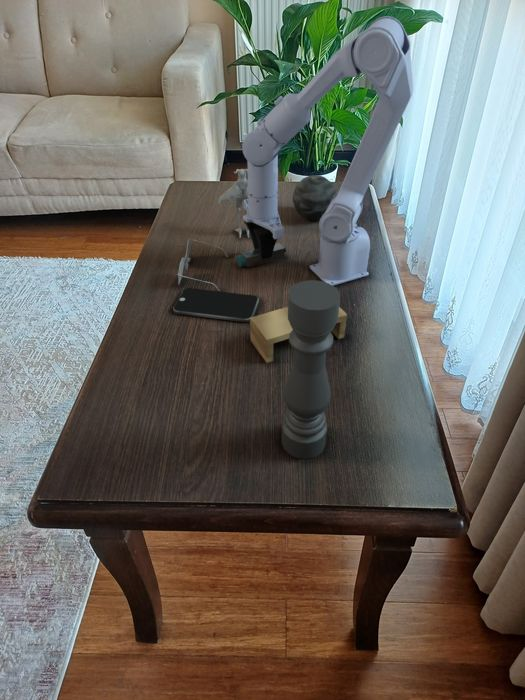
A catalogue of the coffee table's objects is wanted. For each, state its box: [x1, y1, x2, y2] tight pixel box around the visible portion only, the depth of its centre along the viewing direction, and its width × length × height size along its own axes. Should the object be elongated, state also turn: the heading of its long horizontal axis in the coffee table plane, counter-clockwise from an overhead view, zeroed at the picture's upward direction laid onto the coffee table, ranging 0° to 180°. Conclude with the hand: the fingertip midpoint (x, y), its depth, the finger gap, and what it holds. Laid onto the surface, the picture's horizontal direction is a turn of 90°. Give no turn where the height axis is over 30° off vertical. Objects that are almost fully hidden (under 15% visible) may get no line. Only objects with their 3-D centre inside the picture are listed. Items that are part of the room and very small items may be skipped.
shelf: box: [249, 306, 348, 364], centre depth 89 cm, size 15×6×5 cm, turn 116°
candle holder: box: [281, 279, 341, 460], centre depth 65 cm, size 6×6×25 cm
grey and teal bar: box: [236, 242, 287, 269], centre depth 109 cm, size 11×2×2 cm, turn 116°
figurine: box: [217, 168, 250, 239], centre depth 113 cm, size 11×4×15 cm, turn 93°
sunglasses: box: [177, 237, 229, 292], centre depth 105 cm, size 14×8×5 cm, turn 176°
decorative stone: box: [292, 174, 337, 221], centre depth 121 cm, size 10×10×10 cm
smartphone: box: [172, 287, 260, 323], centre depth 97 cm, size 8×1×15 cm
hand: (263, 254), depth 109 cm, fingers closed on grey and teal bar, 2 cm apart
